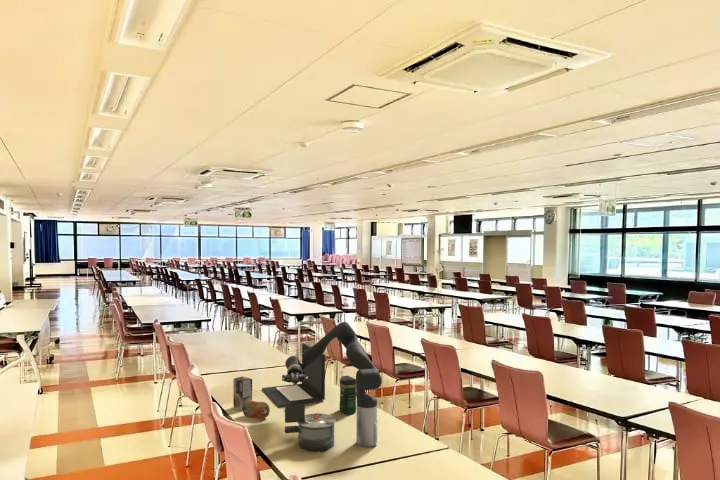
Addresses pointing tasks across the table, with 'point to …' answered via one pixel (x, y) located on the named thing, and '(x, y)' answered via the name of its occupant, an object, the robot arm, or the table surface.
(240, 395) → the coffee box
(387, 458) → the table surface
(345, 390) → the coffee jar
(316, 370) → the laptop
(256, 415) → the tin
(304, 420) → the lid
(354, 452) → the table surface
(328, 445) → the cooking pot
